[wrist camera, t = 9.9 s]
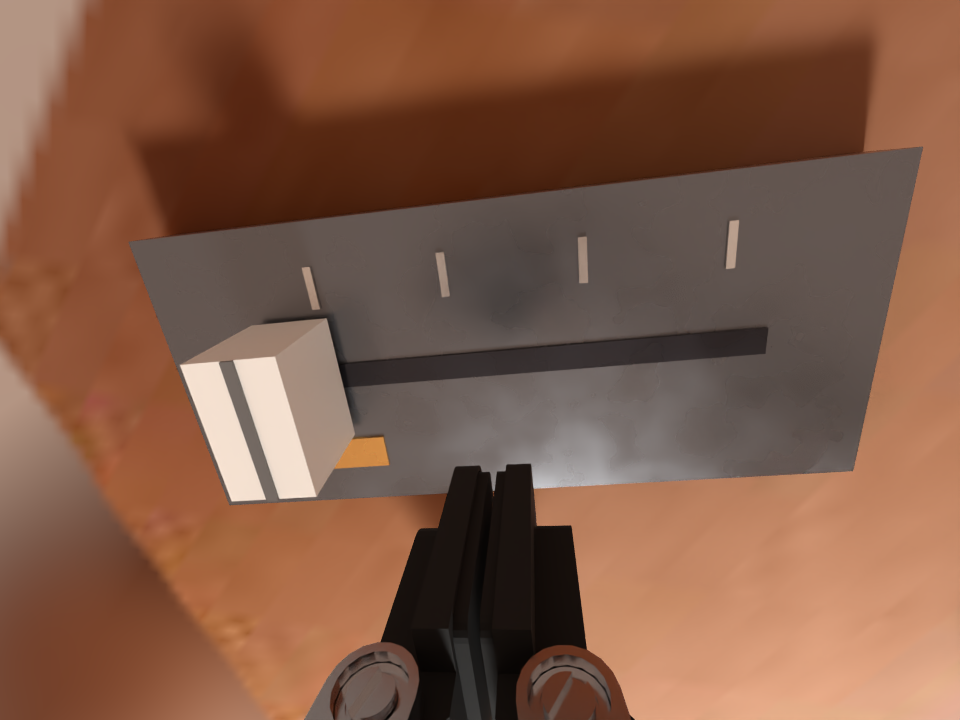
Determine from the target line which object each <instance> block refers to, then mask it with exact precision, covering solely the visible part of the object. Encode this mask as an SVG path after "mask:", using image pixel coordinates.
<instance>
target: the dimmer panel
mask: <svg viewBox="0 0 960 720" xmlns="http://www.w3.org/2000/svg"><path fill="white" fill-rule="evenodd" d="M922 150H923V147H914V148H902V149H890V150H879V151H867V152H858V153H850V154H842V155H833V156H825V157H817V158H808V159H800V160H792V161H783V162H775V163H767V164H758V165H750V166H742V167H733V168H725V169H717V170H708V171H700V172H692V173H683V174H675V175H667V176H659V177H650V178H642V179H634V180H625V181H617V182H609V183H600V184H592V185H584V186H575V187H567V188H559V189H550V190H542V191H534V192H525V193H517V194H509V195H500V196H492V197H484V198H475V199H467V200H459V201H451V202H442V203H434V204H426V205H417V206H409V207H401V208H392V209H384V210H376V211H367V212H359V213H351V214H342V215H334V216H326V217H317V218H309V219H301V220H292V221H284V222H276V223H268V224H259V225H251V226H243V227H234V228H226V229H218V230H209V231H201V232H193V233H184V234H176V235H169V236H163V237H157V238H150V239H144V240H137V241H131V242H129V245H130V247H131V250H132V252H133V255H134V258H135V260H136V263H137V265H138V268H139V271H140V273H141V276H142V278H143V281H144V284H145V286H146V289H147V291H148V294H149V297H150V299H151V302H152V304H153V307H154V310H155V312H156V315H157V317H158V320H159V323H160V325H161V328H162V330H163V333H164V336H165V338H166V341H167V344H168V346H169V349H170V351H171V354H172V357H173V359H174V362H175V364H176V367H177V370H178V372H179V375H180V377H181V380H182V383H183V385H184V388H185V390H186V393H187V396H188V398H189V401H190V403H191V406H192V409H193V411H194V414H195V416H196V419H197V422H198V424H199V427H200V429H201V432H202V435H203V437H204V440H205V442H206V445H207V448H208V450H209V453H210V455H211V458H212V461H213V463H214V466H215V469H216V471H217V474H218V476H219V479H220V482H221V484H222V487H223V489H224V492H225V495H226V497H227V500H228V502H229V505H242V504H260V503H279V502H297V501H315V500H333V499H352V498H370V497H388V496H407V495H425V494H443V493H448V490H449V486H450V482H451V479H452V475H453V471H454V468H455V467H456V466H478V465H480V466H481V470H482V472H490V474H491V481H492V489H493V491H495V482H496V474H497V471H506V465H507V464H530V463H531V466H532V477H533V488H534V489H535V488H553V487H571V486H589V485H608V484H626V483H644V482H663V481H681V480H699V479H717V478H736V477H754V476H772V475H791V474H809V473H827V472H845V471H853V469H854V465H855V460H856V455H857V451H858V446H859V441H860V437H861V432H862V428H863V423H864V418H865V414H866V409H867V404H868V400H869V395H870V390H871V386H872V381H873V377H874V372H875V367H876V363H877V358H878V353H879V349H880V344H881V340H882V335H883V330H884V326H885V321H886V316H887V312H888V307H889V302H890V298H891V293H892V289H893V284H894V279H895V275H896V270H897V265H898V261H899V256H900V251H901V247H902V242H903V238H904V233H905V228H906V224H907V219H908V214H909V210H910V205H911V201H912V196H913V191H914V187H915V182H916V177H917V173H918V168H919V163H920V159H921V154H922ZM324 318H327V322H328V326H329V330H330V334H331V338H332V342H333V346H334V350H335V354H336V358H337V362H338V366H339V371H340V375H341V379H342V383H343V387H344V391H345V395H346V399H347V403H348V407H349V411H350V415H351V420H352V424H353V428H354V432H355V435H354V437H353V438H352V440H351V442H350V443H349V445H348V447H347V448H346V450H345V451H344V453H343V455H342V456H341V458H340V460H339V461H338V463H337V464H336V466H335V468H334V469H333V471H332V473H331V474H330V476H329V477H328V479H327V481H326V482H325V484H324V485H323V487H322V489H321V490H320V492H319V494H318V495H317V497H304V498H286V499H279V500H278V501H266V500H250V501H231V498H230V496H229V493H228V490H227V488H226V485H225V482H224V480H223V477H222V475H221V472H220V469H219V467H218V464H217V461H216V459H215V456H214V454H213V451H212V448H211V446H210V443H209V440H208V438H207V435H206V432H205V430H204V427H203V425H202V422H201V419H200V417H199V414H198V411H197V409H196V406H195V404H194V401H193V398H192V396H191V393H190V390H189V388H188V385H187V383H186V380H185V377H184V375H183V372H182V369H181V367H180V365H181V364H183V363H184V362H186V361H188V360H190V359H192V358H193V357H195V356H197V355H199V354H201V353H202V352H204V351H206V350H208V349H210V348H212V347H213V346H215V345H217V344H219V343H221V342H222V341H224V340H226V339H228V338H230V337H231V336H233V335H235V334H237V333H239V332H240V331H242V330H244V329H246V328H248V327H250V326H252V325H262V324H272V323H283V322H293V321H304V320H314V319H324Z"/></svg>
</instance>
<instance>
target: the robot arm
mask: <svg viewBox="0 0 960 720" xmlns="http://www.w3.org/2000/svg"><path fill="white" fill-rule="evenodd" d="M304 720H635V719H634V718H632V717H631V716H630V715H629V712H628V708H627V705H626V702H625V699H624V696H623V693H622V690H621V687H620V685H619V683H618V681H617V679H616V677H615V675H614V673H613V672H612V670H611V669H610V668H609V667H608V666H607V665H606V664H605V663H604V662H603V660H602V659H600V658H599V657H597V656H596V655H594V654H593V653H591V652H590V651H588V650H587V647H586V639H585V631H584V623H583V615H582V607H581V599H580V591H579V583H578V575H577V567H576V558H575V550H574V542H573V534H572V527H571V526H537V523H536V512H535V500H534V488H533V477H532V466H531V463H530V464H507V465H506V471H497V474H496V482H495V491H494V497H493V489H492V481H491V474H490V472H482V470H481V466H480V465H478V466H456V467H455V468H454V471H453V475H452V479H451V482H450V486H449V490H448V493H447V497H446V501H445V504H444V508H443V512H442V515H441V519H440V523H439V526H438V528H422V529H420V530H419V531H418V532H417V534H416V537H415V540H414V543H413V546H412V549H411V552H410V555H409V558H408V561H407V564H406V567H405V570H404V573H403V576H402V579H401V582H400V585H399V588H398V591H397V594H396V597H395V600H394V603H393V606H392V609H391V612H390V615H389V618H388V621H387V624H386V627H385V630H384V633H383V636H382V639H381V642H377V643H374V644H370V645H366V646H363V647H361V648H359V649H358V650H356V651H354V652H352V653H350V654H349V655H348V656H347V657H346V658H344V659H343V660H342V661H341V662H340V663H339V664H338V665H337V666H336V667H335V669H334V670H333V671H332V673H331V674H330V675H329V677H328V678H327V680H326V682H325V683H324V685H323V687H322V689H321V690H320V692H319V694H318V696H317V698H316V699H315V701H314V703H313V705H312V707H311V708H310V710H309V712H308V714H307V716H306V717H305V719H304Z"/></svg>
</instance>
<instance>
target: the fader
mask: <svg viewBox="0 0 960 720" xmlns="http://www.w3.org/2000/svg"><path fill="white" fill-rule="evenodd" d="M180 367H181V369H182V372H183V375H184V377H185V380H186V383H187V385H188V388H189V390H190V393H191V396H192V398H193V401H194V404H195V406H196V409H197V411H198V414H199V417H200V419H201V422H202V425H203V427H204V430H205V432H206V435H207V438H208V440H209V443H210V446H211V448H212V451H213V454H214V456H215V459H216V461H217V464H218V467H219V469H220V472H221V475H222V477H223V480H224V482H225V485H226V488H227V490H228V493H229V496H230V498H231V501H250V500H266V501H278V500H279V499H286V498H304V497H317V495H318V494H319V492H320V490H321V489H322V487H323V485H324V484H325V482H326V481H327V479H328V477H329V476H330V474H331V473H332V471H333V469H334V468H335V466H336V464H337V463H338V461H339V460H340V458H341V456H342V455H343V453H344V451H345V450H346V448H347V447H348V445H349V443H350V442H351V440H352V438H353V437H354V435H355V432H354V428H353V424H352V420H351V415H350V411H349V407H348V403H347V399H346V395H345V391H344V387H343V383H342V379H341V375H340V371H339V366H338V362H337V358H336V354H335V350H334V346H333V342H332V338H331V334H330V330H329V326H328V322H327V318H324V319H314V320H304V321H293V322H283V323H272V324H262V325H252V326H250V327H248V328H246V329H244V330H242V331H240V332H239V333H237V334H235V335H233V336H231V337H230V338H228V339H226V340H224V341H222V342H221V343H219V344H217V345H215V346H213V347H212V348H210V349H208V350H206V351H204V352H202V353H201V354H199V355H197V356H195V357H193V358H192V359H190V360H188V361H186V362H184V363H183V364H181V365H180Z"/></svg>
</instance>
